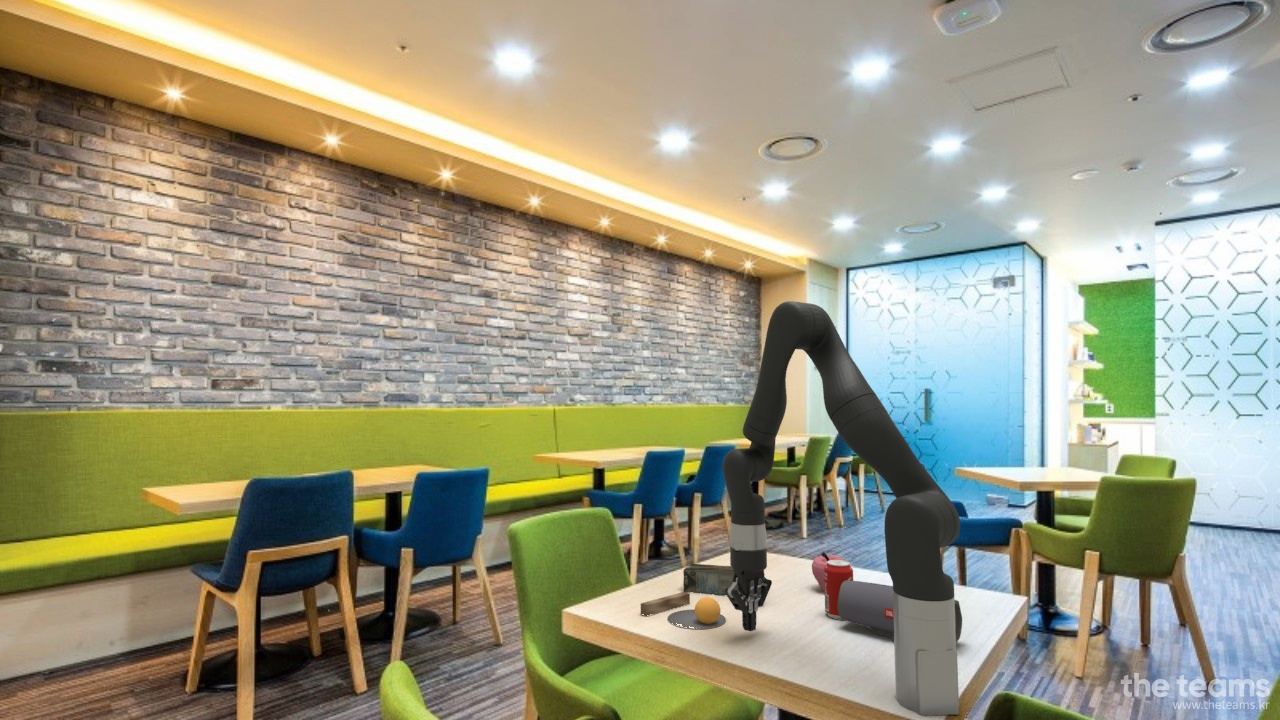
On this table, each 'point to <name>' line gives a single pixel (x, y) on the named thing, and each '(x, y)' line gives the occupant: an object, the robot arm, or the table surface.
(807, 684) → the table surface
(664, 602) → the wooden bar
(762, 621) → the table surface
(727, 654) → the table surface
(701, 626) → the mark
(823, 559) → the apple
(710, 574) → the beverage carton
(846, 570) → the beverage can
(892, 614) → the bluetooth speaker
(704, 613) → the ball
